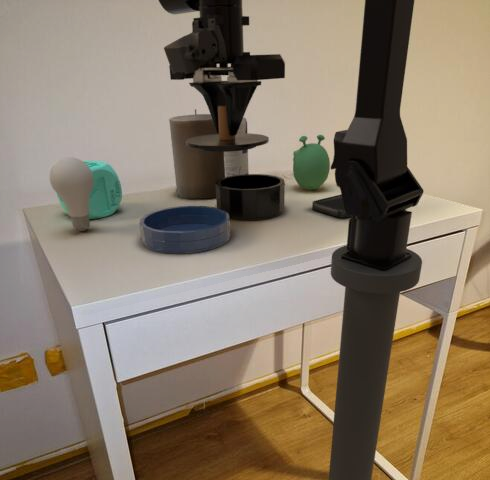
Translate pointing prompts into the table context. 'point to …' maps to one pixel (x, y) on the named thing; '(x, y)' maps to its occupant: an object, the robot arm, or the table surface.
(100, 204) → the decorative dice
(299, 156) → the alien toy
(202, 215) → the pan
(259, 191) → the tin
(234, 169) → the energy drink
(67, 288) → the table surface
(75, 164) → the lightbulb
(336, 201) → the phone
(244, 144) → the lid
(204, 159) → the pillar candle
